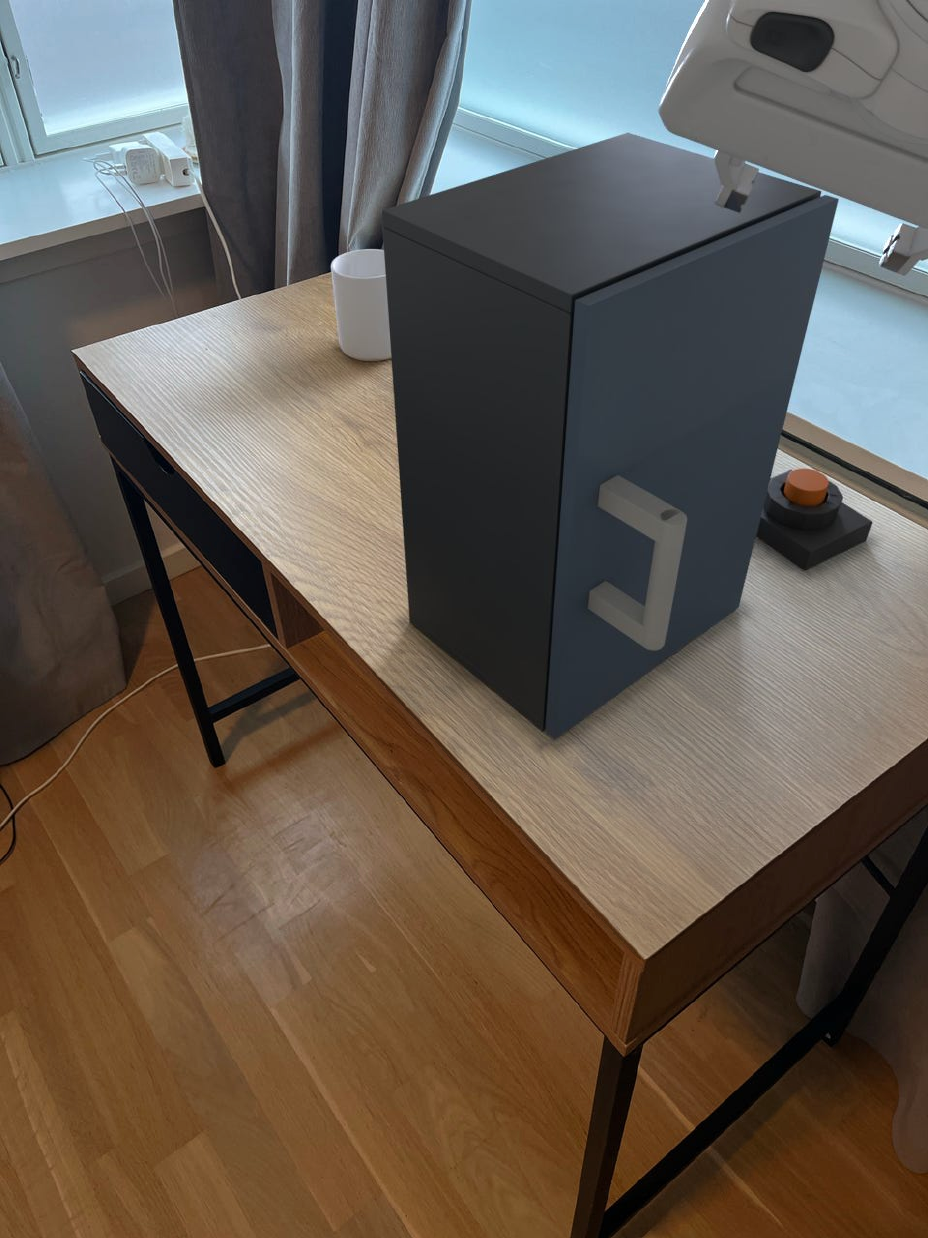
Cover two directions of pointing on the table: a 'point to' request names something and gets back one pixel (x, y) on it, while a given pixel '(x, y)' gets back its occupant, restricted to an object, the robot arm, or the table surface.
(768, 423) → the door
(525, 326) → the cupboard
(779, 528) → the button box
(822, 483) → the button
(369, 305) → the mug
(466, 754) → the table surface
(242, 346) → the table surface
